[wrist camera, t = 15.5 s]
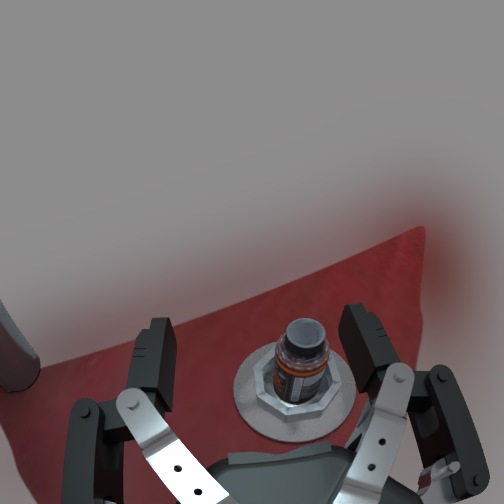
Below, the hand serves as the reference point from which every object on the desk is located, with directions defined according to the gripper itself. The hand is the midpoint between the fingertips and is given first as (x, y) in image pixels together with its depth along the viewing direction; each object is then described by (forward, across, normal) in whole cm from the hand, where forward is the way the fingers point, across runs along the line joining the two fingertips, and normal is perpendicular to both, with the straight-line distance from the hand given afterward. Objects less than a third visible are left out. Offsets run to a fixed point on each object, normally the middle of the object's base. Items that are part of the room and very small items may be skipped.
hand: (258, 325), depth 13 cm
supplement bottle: (+9, -6, +24) cm, 26 cm away
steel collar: (+9, -6, +24) cm, 27 cm away
